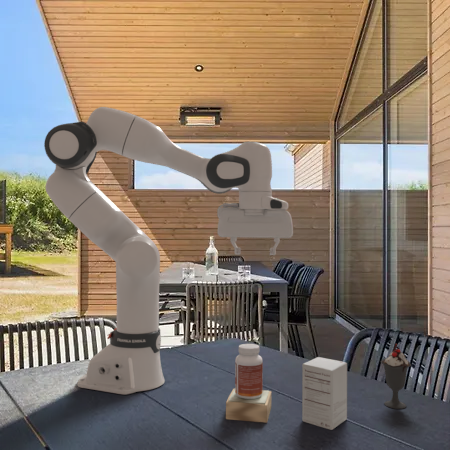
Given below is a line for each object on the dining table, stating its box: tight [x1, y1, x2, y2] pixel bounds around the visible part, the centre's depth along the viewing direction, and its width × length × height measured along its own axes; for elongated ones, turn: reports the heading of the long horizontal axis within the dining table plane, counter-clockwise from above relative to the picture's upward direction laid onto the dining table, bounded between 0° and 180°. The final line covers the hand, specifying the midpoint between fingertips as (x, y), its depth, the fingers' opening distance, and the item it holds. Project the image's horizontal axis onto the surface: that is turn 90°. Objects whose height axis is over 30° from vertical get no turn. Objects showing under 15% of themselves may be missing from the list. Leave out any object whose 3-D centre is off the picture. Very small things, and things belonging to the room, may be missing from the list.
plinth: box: [225, 388, 273, 424], centre depth 112 cm, size 9×9×4 cm
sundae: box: [380, 343, 412, 410], centre depth 117 cm, size 7×7×15 cm
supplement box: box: [301, 356, 348, 431], centre depth 108 cm, size 7×7×13 cm
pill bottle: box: [234, 343, 264, 399], centre depth 112 cm, size 6×6×11 cm
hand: (255, 254), depth 133 cm, fingers open, 8 cm apart
